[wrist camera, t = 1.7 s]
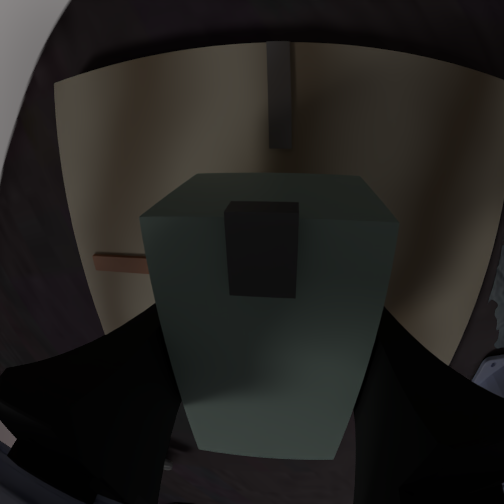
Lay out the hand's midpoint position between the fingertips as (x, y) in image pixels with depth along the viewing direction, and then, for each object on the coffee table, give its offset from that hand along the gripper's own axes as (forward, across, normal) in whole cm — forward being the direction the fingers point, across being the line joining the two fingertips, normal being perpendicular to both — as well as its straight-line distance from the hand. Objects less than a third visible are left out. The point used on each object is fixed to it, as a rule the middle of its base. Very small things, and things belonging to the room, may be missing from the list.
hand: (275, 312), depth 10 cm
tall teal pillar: (+1, 0, 0) cm, 1 cm away
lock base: (+4, 0, 0) cm, 4 cm away
